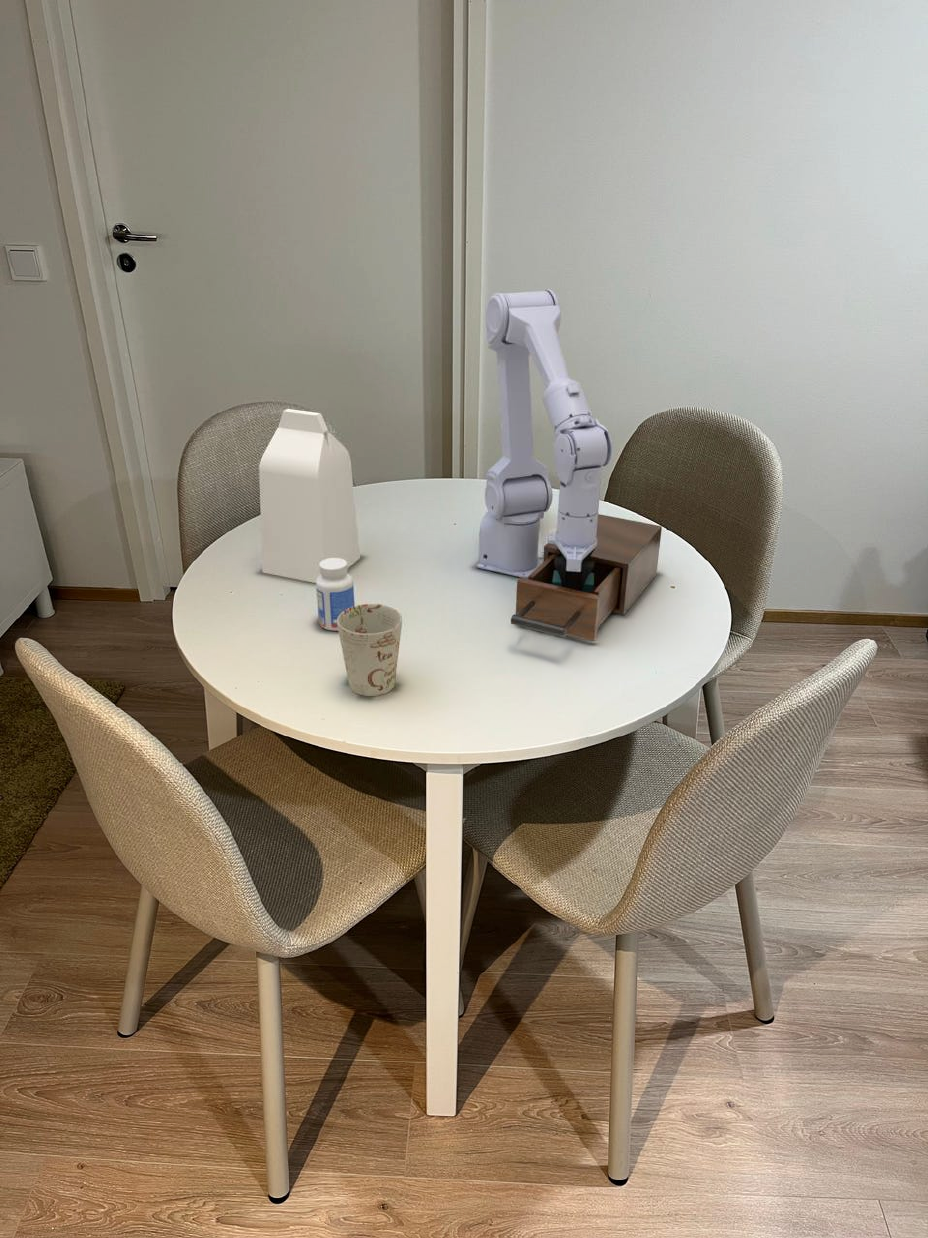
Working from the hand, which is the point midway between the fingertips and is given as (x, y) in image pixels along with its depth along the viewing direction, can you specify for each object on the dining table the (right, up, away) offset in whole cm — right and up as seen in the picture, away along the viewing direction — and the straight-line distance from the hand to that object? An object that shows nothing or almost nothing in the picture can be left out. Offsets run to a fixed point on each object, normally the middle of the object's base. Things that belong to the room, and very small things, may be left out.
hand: (572, 595), depth 146 cm
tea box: (0, -1, +1) cm, 1 cm away
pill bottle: (-35, -4, 0) cm, 35 cm away
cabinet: (+6, +2, +12) cm, 14 cm away
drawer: (-1, -3, 0) cm, 4 cm away
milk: (-41, +5, +17) cm, 45 cm away
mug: (-29, -12, -14) cm, 34 cm away
